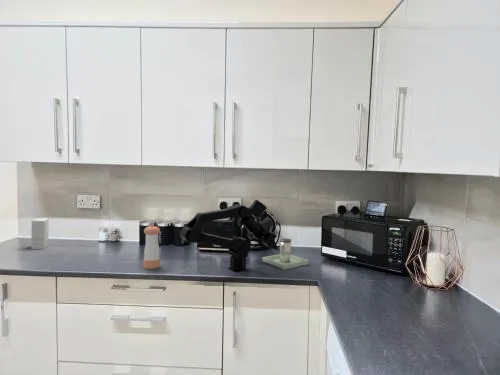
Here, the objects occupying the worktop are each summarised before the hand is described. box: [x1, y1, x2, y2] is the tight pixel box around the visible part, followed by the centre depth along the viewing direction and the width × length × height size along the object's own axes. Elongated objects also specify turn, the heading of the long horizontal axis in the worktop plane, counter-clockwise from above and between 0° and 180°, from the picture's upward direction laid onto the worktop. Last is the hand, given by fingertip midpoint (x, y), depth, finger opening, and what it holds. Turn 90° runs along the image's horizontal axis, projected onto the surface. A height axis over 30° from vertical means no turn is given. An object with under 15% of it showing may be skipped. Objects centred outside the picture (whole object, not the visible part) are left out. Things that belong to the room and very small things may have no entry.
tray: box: [261, 253, 310, 270], centre depth 163 cm, size 16×16×2 cm
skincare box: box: [30, 217, 49, 250], centre depth 181 cm, size 8×7×16 cm
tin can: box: [279, 238, 292, 263], centre depth 163 cm, size 5×5×11 cm
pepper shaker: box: [143, 224, 161, 270], centre depth 151 cm, size 7×7×19 cm
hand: (271, 247), depth 159 cm, fingers open, 9 cm apart
